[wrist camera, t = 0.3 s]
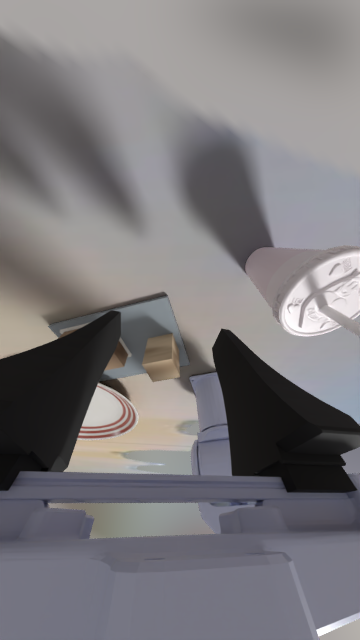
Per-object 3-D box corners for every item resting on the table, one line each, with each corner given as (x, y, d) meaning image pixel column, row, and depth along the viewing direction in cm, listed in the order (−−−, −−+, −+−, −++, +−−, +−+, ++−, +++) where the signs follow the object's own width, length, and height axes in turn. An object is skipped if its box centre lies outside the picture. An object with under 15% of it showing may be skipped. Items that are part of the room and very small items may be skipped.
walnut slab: (128, 354, 25) (124, 366, 23) (91, 362, 26) (83, 374, 24) (106, 322, 21) (99, 333, 19) (64, 332, 22) (52, 343, 20)
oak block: (179, 350, 25) (179, 377, 21) (156, 355, 25) (152, 382, 21) (172, 333, 23) (171, 358, 19) (147, 338, 23) (141, 364, 19)
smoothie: (223, 276, 19) (302, 372, 7) (259, 221, 15) (511, 230, 4) (262, 296, 20) (376, 399, 9) (301, 250, 17) (566, 317, 6)
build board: (189, 362, 28) (189, 365, 27) (101, 378, 30) (100, 381, 29) (167, 295, 20) (167, 297, 19) (50, 324, 22) (47, 326, 21)
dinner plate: (-29, 374, 28) (-52, 391, 25) (104, 348, 25) (95, 365, 22) (66, 430, 43) (59, 444, 41) (156, 418, 40) (154, 433, 37)
